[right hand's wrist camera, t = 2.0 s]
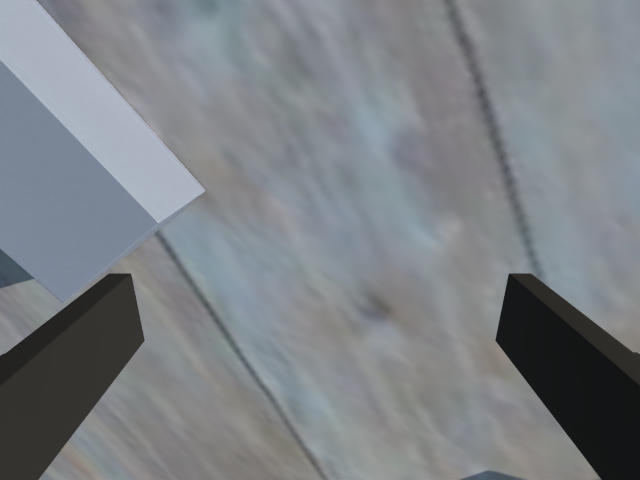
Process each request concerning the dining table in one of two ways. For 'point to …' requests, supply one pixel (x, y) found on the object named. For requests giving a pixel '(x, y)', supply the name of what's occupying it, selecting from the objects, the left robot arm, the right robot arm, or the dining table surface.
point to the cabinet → (74, 159)
